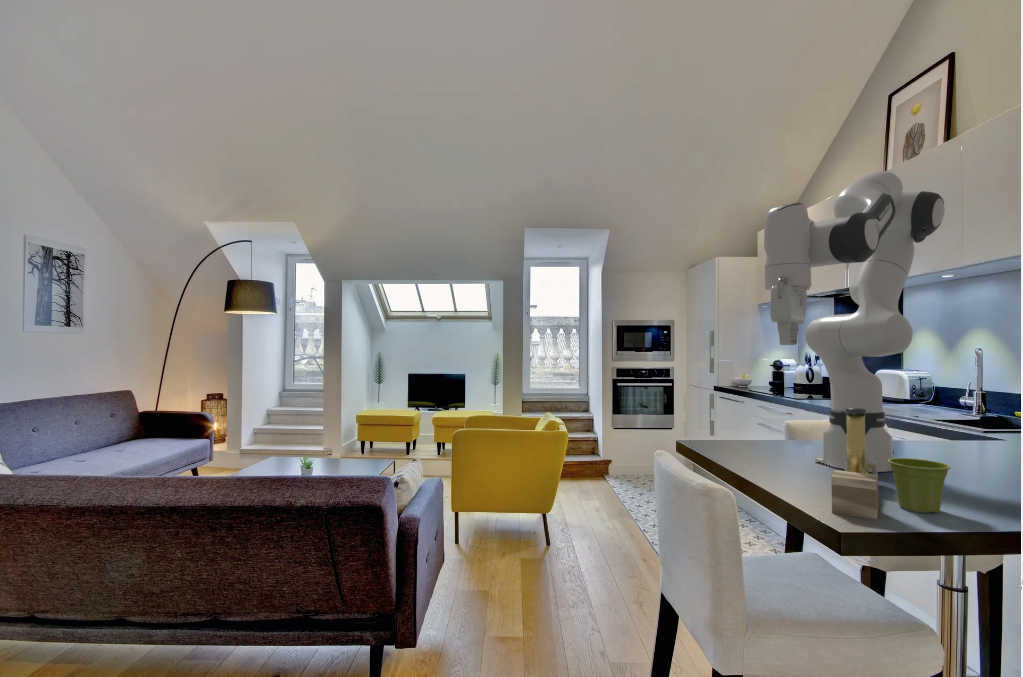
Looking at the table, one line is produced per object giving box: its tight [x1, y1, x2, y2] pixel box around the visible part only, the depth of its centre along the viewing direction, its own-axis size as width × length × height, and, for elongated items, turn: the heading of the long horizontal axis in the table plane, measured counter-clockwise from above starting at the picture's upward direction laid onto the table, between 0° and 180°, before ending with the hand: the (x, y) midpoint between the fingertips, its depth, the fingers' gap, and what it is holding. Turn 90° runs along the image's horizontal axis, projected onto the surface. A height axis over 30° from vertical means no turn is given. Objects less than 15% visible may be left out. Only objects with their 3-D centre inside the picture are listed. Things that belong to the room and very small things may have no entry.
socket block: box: [830, 469, 879, 520], centre depth 100 cm, size 6×7×7 cm
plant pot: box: [888, 457, 951, 514], centre depth 102 cm, size 9×9×9 cm
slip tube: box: [845, 408, 870, 474], centre depth 108 cm, size 20×3×17 cm, turn 145°
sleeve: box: [843, 456, 879, 476], centre depth 118 cm, size 10×6×6 cm, turn 145°
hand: (788, 345), depth 115 cm, fingers open, 8 cm apart
